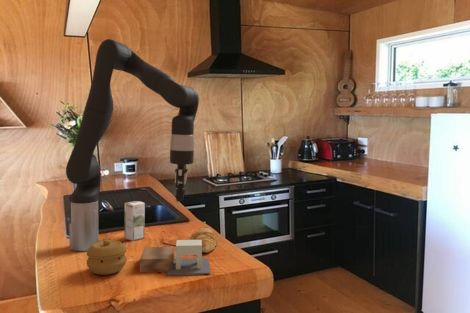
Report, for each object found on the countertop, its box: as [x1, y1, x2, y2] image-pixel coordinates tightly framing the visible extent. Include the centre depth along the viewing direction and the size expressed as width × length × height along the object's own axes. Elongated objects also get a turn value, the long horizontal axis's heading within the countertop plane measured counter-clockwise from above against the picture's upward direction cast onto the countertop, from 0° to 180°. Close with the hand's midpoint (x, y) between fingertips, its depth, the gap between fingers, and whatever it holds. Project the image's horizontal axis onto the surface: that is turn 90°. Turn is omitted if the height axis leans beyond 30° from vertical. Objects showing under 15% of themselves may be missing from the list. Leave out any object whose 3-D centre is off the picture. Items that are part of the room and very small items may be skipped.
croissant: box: [189, 226, 218, 254], centre depth 146 cm, size 21×10×8 cm, turn 11°
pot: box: [86, 239, 128, 276], centre depth 119 cm, size 12×12×10 cm
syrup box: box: [123, 200, 146, 242], centre depth 154 cm, size 6×6×14 cm
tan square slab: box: [139, 246, 176, 273], centre depth 126 cm, size 10×12×4 cm
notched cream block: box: [175, 239, 203, 269], centre depth 123 cm, size 6×8×8 cm
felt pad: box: [166, 257, 211, 277], centre depth 124 cm, size 13×13×1 cm
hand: (180, 198), depth 126 cm, fingers open, 8 cm apart
